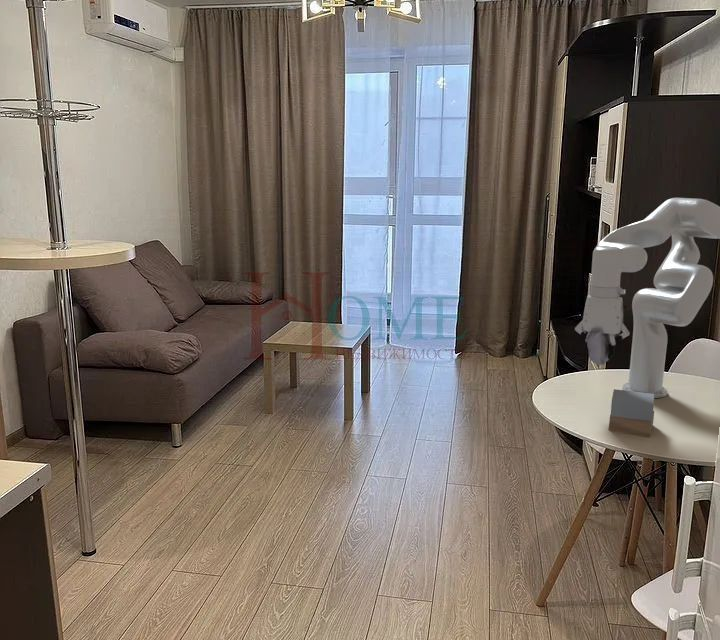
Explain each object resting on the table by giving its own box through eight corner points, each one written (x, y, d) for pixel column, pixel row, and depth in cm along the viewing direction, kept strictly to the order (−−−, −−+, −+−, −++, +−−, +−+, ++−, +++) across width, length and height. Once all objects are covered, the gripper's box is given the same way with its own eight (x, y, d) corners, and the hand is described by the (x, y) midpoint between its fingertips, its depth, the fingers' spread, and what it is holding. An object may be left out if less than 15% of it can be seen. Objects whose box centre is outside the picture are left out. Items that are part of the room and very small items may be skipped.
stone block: (596, 357, 201) (598, 323, 199) (613, 360, 199) (616, 326, 196) (581, 367, 192) (584, 332, 190) (599, 370, 189) (602, 335, 187)
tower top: (612, 405, 190) (613, 389, 189) (652, 410, 186) (654, 393, 185) (610, 415, 182) (611, 399, 181) (652, 421, 178) (653, 404, 177)
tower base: (613, 420, 191) (614, 404, 190) (652, 426, 186) (654, 410, 185) (608, 431, 183) (609, 415, 182) (649, 438, 178) (651, 422, 177)
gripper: (639, 292, 190) (634, 357, 194) (575, 287, 197) (571, 349, 202) (636, 297, 183) (630, 364, 188) (570, 292, 191) (566, 356, 195)
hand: (600, 356), depth 195 cm, fingers closed on stone block, 4 cm apart
